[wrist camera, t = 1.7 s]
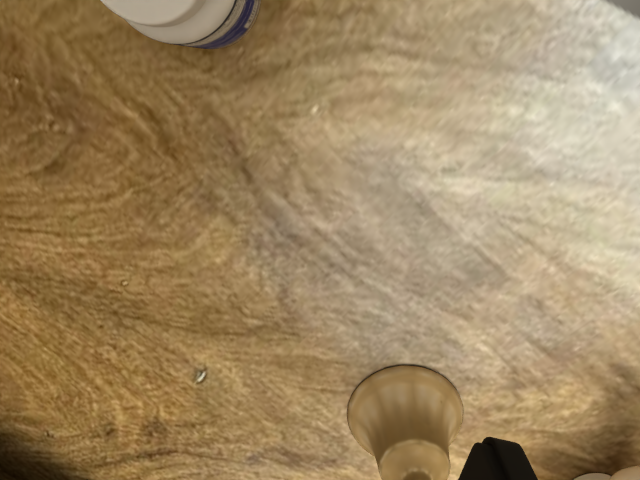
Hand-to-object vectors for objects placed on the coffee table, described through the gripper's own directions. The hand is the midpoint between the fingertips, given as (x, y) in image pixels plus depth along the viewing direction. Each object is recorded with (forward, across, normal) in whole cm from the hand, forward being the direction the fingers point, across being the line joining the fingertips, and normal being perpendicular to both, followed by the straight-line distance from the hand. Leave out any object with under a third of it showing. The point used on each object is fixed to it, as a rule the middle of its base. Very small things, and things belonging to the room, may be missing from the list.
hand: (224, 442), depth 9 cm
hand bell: (+22, -11, +14) cm, 29 cm away
